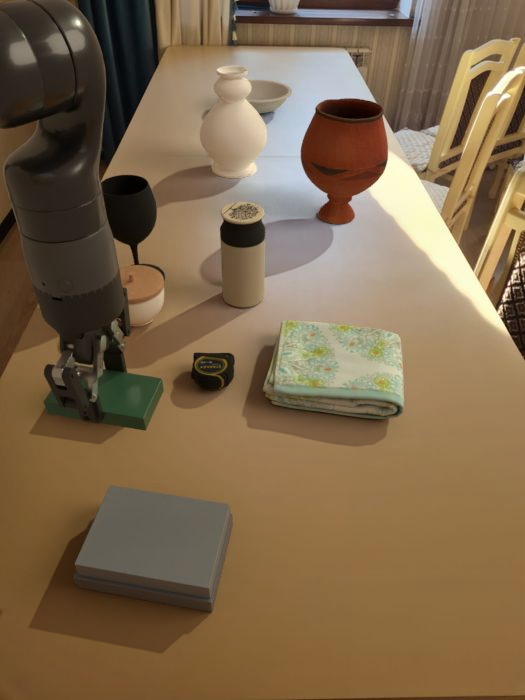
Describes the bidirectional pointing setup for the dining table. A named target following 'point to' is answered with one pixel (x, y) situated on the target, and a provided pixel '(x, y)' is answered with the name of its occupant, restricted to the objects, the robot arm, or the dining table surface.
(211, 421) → the dining table surface
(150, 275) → the trinket box
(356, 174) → the goblet
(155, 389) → the green book
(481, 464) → the dining table surface
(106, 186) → the wine glass
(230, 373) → the tape measure
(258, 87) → the soup bowl
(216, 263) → the dining table surface
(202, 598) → the grey books
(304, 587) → the dining table surface
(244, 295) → the travel mug
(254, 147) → the decorative vase
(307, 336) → the towel
